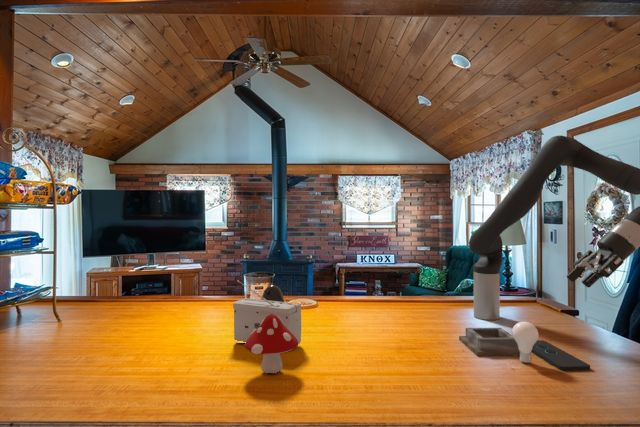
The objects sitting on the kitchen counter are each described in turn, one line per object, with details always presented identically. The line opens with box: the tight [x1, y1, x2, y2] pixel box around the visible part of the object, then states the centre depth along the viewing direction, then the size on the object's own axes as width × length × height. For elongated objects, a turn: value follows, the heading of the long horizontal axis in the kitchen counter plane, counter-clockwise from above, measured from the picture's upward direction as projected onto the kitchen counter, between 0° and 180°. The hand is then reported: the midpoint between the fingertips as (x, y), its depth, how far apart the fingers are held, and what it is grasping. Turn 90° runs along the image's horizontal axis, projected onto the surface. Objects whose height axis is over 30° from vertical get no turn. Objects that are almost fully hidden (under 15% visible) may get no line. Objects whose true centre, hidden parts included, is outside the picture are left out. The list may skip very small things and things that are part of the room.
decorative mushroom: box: [243, 314, 299, 374], centre depth 101 cm, size 14×14×15 cm
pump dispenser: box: [260, 284, 286, 302], centre depth 139 cm, size 10×10×15 cm
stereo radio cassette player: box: [232, 279, 302, 345], centre depth 122 cm, size 21×8×20 cm, turn 65°
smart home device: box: [531, 340, 591, 372], centre depth 111 cm, size 8×2×20 cm
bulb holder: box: [458, 327, 520, 357], centre depth 118 cm, size 14×14×4 cm
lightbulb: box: [511, 321, 540, 364], centre depth 106 cm, size 6×6×11 cm
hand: (576, 282), depth 107 cm, fingers open, 8 cm apart
